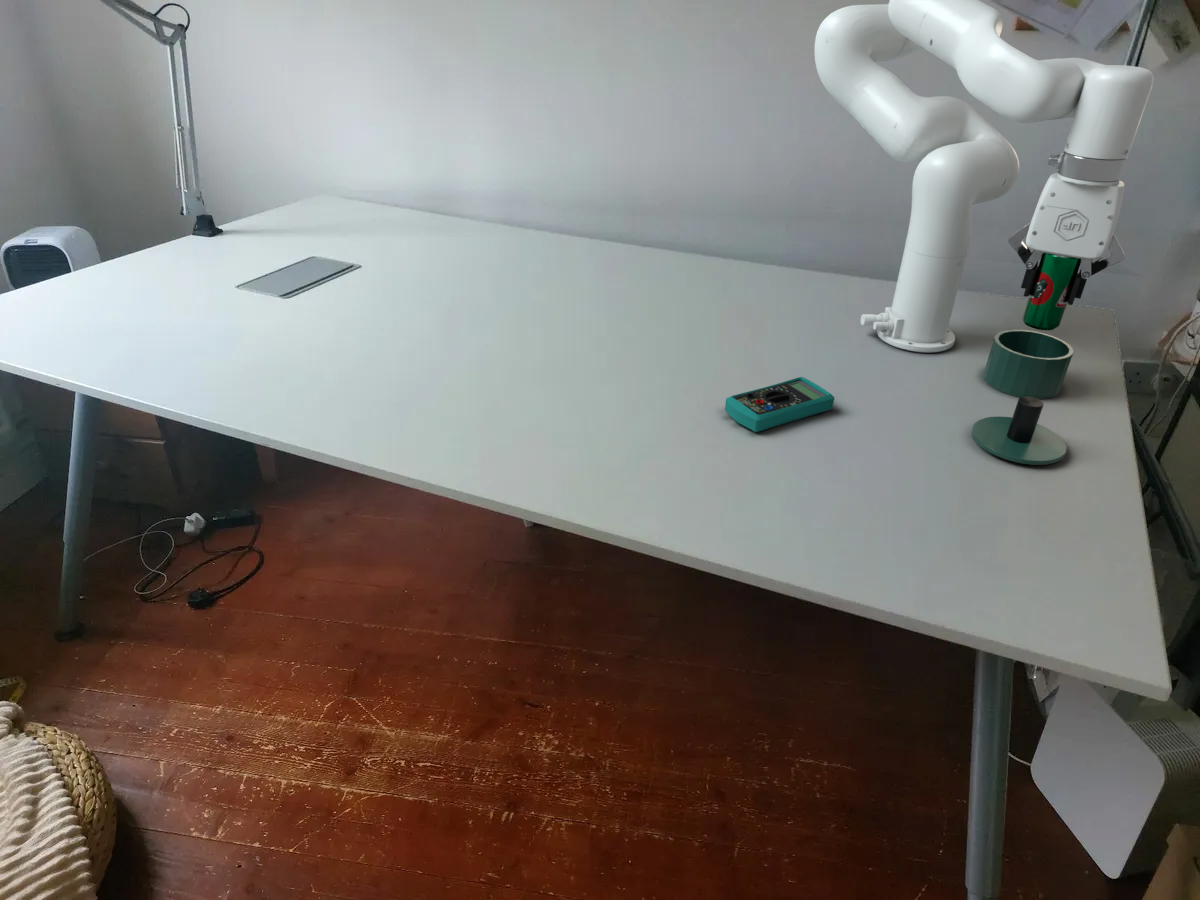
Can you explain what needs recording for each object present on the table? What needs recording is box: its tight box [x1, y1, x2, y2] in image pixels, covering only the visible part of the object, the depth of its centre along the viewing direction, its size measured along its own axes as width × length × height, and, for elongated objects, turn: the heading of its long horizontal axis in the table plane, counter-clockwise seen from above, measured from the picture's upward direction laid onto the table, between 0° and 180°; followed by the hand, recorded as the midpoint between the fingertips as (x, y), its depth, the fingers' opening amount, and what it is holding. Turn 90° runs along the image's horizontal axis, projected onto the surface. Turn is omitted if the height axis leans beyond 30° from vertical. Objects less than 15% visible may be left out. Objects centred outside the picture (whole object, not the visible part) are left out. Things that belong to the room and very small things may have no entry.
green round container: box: [982, 329, 1075, 400], centre depth 122 cm, size 11×11×6 cm
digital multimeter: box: [724, 376, 835, 433], centre depth 114 cm, size 7×15×3 cm, turn 119°
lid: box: [971, 396, 1068, 466], centre depth 106 cm, size 12×12×7 cm
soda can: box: [1022, 253, 1081, 331], centre depth 116 cm, size 5×5×12 cm
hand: (1049, 296), depth 117 cm, fingers closed on soda can, 5 cm apart
